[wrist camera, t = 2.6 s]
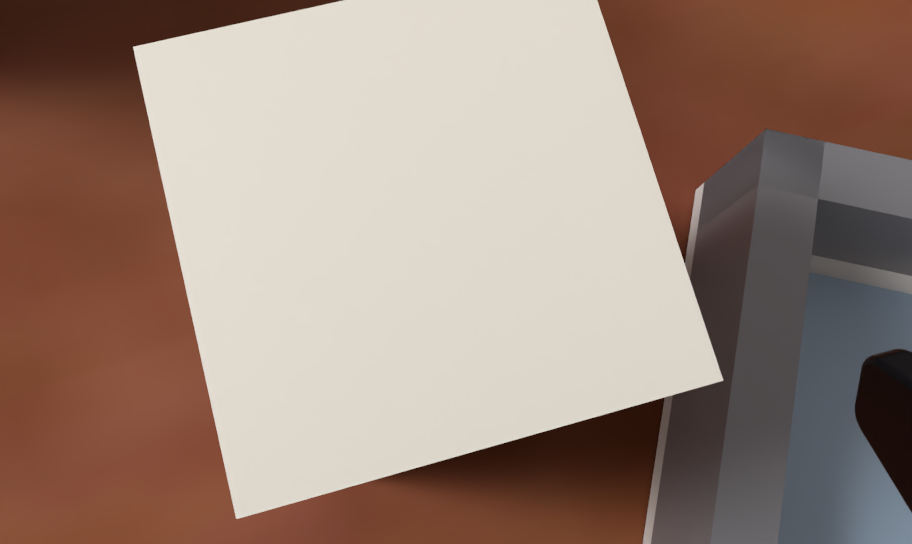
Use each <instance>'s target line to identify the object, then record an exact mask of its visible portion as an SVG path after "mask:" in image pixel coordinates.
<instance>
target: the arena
mask: <svg viewBox="0 0 912 544" xmlns="http://www.w3.org/2000/svg"><path fill="white" fill-rule="evenodd" d="M685 266H686V269H687V272H688V275H689V278H690V281H691V284H692V287H693V291H694V294H695V297H696V300H697V303H698V306H699V309H700V312H701V315H702V318H703V321H704V324H705V327H706V330H707V333H708V336H709V339H710V342H711V345H712V348H713V351H714V354H715V357H716V360H717V363H718V366H719V369H720V372H721V375H722V378H723V381H721V382H717V383H714V384H710V385H707V386H703V387H699V388H696V389H692V390H689V391H685V392H682V393H678V394H675V395H671V396H668V397H665V398H664V405H663V412H662V418H661V425H660V431H659V438H658V445H657V451H656V458H655V465H654V471H653V478H652V485H651V491H650V498H649V505H648V511H647V518H646V524H645V531H644V538H643V544H912V513H911V511H910V510H909V508H908V506H907V505H906V503H905V501H904V500H903V498H902V496H901V495H900V493H899V492H898V490H897V488H896V487H895V485H894V483H893V482H892V480H891V478H890V477H889V475H888V474H887V472H886V470H885V469H884V467H883V465H882V464H881V462H880V460H879V459H878V457H877V455H876V454H875V452H874V451H873V449H872V447H871V446H870V444H869V442H868V441H867V439H866V437H865V436H864V434H863V433H862V431H861V429H860V427H859V425H858V423H857V420H856V416H855V401H856V395H857V390H858V384H859V379H860V373H861V368H862V364H863V362H864V361H865V360H866V358H868V357H869V356H872V355H875V354H879V353H882V352H886V351H889V350H893V349H905V350H908V351H911V352H912V160H907V159H903V158H898V157H893V156H889V155H884V154H880V153H875V152H870V151H866V150H861V149H856V148H852V147H847V146H842V145H838V144H833V143H829V142H824V141H819V140H815V139H810V138H805V137H801V136H796V135H791V134H787V133H782V132H778V131H773V130H768V129H765V130H764V131H763V132H762V133H761V134H760V135H758V136H757V137H756V138H755V139H754V140H753V141H752V142H750V143H749V144H748V145H747V146H746V147H745V148H744V149H742V150H741V151H740V152H739V153H738V154H737V155H735V156H734V157H733V158H732V159H731V160H730V161H729V162H727V163H726V164H725V165H724V166H723V167H722V168H721V169H719V170H718V171H717V172H716V173H715V174H714V175H712V176H711V177H710V178H709V179H708V180H707V181H706V182H704V183H703V184H702V185H701V186H700V187H699V188H698V189H696V192H695V199H694V206H693V212H692V219H691V225H690V232H689V239H688V245H687V252H686V259H685Z"/></svg>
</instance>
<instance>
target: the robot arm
mask: <svg viewBox="0 0 912 544" xmlns="http://www.w3.org/2000/svg"><path fill="white" fill-rule="evenodd" d="M855 416H856V420H857V423H858V425H859V427H860V429H861V431H862V433H863V434H864V436H865V437H866V439H867V441H868V442H869V444H870V446H871V447H872V449H873V451H874V452H875V454H876V455H877V457H878V459H879V460H880V462H881V464H882V465H883V467H884V469H885V470H886V472H887V474H888V475H889V477H890V478H891V480H892V482H893V483H894V485H895V487H896V488H897V490H898V492H899V493H900V495H901V496H902V498H903V500H904V501H905V503H906V505H907V506H908V508H909V510H910V511H911V513H912V352H911V351H908V350H905V349H893V350H889V351H886V352H882V353H879V354H875V355H872V356H869V357H868V358H866V360H865V361H864V362H863V364H862V368H861V373H860V379H859V384H858V390H857V395H856V401H855Z"/></svg>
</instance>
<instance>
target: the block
mask: <svg viewBox="0 0 912 544" xmlns="http://www.w3.org/2000/svg"><path fill="white" fill-rule="evenodd" d="M133 50H134V54H135V59H136V63H137V68H138V73H139V77H140V82H141V86H142V91H143V95H144V100H145V105H146V109H147V114H148V118H149V123H150V127H151V132H152V137H153V141H154V146H155V150H156V155H157V159H158V164H159V168H160V173H161V178H162V182H163V187H164V191H165V196H166V200H167V205H168V210H169V214H170V219H171V223H172V228H173V232H174V237H175V241H176V246H177V251H178V255H179V260H180V264H181V269H182V273H183V278H184V283H185V287H186V292H187V296H188V301H189V305H190V310H191V315H192V319H193V324H194V328H195V333H196V337H197V342H198V346H199V351H200V356H201V360H202V365H203V369H204V374H205V378H206V383H207V388H208V392H209V397H210V401H211V406H212V410H213V415H214V419H215V424H216V429H217V433H218V438H219V442H220V447H221V451H222V456H223V461H224V465H225V470H226V474H227V479H228V483H229V488H230V492H231V497H232V502H233V506H234V511H235V515H236V519H239V518H242V517H246V516H249V515H253V514H256V513H260V512H263V511H267V510H270V509H274V508H277V507H281V506H284V505H288V504H291V503H295V502H298V501H302V500H305V499H309V498H312V497H316V496H319V495H323V494H327V493H330V492H334V491H337V490H341V489H344V488H348V487H351V486H355V485H358V484H362V483H365V482H369V481H372V480H376V479H379V478H383V477H386V476H390V475H393V474H397V473H400V472H404V471H407V470H411V469H414V468H418V467H422V466H425V465H429V464H432V463H436V462H439V461H443V460H446V459H450V458H453V457H457V456H460V455H464V454H467V453H471V452H474V451H478V450H481V449H485V448H488V447H492V446H495V445H499V444H502V443H506V442H509V441H513V440H517V439H520V438H524V437H527V436H531V435H534V434H538V433H541V432H545V431H548V430H552V429H555V428H559V427H562V426H566V425H569V424H573V423H576V422H580V421H583V420H587V419H590V418H594V417H597V416H601V415H604V414H608V413H612V412H615V411H619V410H622V409H626V408H629V407H633V406H636V405H640V404H643V403H647V402H650V401H654V400H657V399H661V398H664V397H668V396H671V395H675V394H678V393H682V392H685V391H689V390H692V389H696V388H699V387H703V386H707V385H710V384H714V383H717V382H721V381H723V378H722V375H721V372H720V369H719V366H718V363H717V360H716V357H715V354H714V351H713V348H712V345H711V342H710V339H709V336H708V333H707V330H706V327H705V324H704V321H703V318H702V315H701V312H700V309H699V306H698V303H697V300H696V297H695V294H694V291H693V287H692V284H691V281H690V278H689V275H688V272H687V269H686V266H685V263H684V260H683V257H682V254H681V251H680V248H679V245H678V242H677V239H676V236H675V233H674V230H673V227H672V224H671V221H670V218H669V215H668V212H667V209H666V206H665V203H664V200H663V197H662V194H661V191H660V188H659V185H658V182H657V179H656V176H655V173H654V170H653V167H652V164H651V161H650V158H649V155H648V152H647V149H646V146H645V143H644V140H643V137H642V134H641V131H640V128H639V125H638V122H637V119H636V116H635V113H634V110H633V107H632V104H631V101H630V98H629V95H628V92H627V89H626V86H625V83H624V80H623V77H622V74H621V71H620V68H619V65H618V62H617V59H616V56H615V53H614V49H613V46H612V43H611V40H610V37H609V34H608V31H607V28H606V25H605V22H604V19H603V16H602V13H601V10H600V7H599V4H598V1H597V0H343V1H338V2H334V3H329V4H325V5H320V6H316V7H311V8H307V9H302V10H298V11H293V12H288V13H284V14H279V15H275V16H270V17H266V18H261V19H257V20H252V21H248V22H243V23H239V24H234V25H230V26H225V27H220V28H216V29H211V30H207V31H202V32H198V33H193V34H189V35H184V36H180V37H175V38H171V39H166V40H162V41H157V42H152V43H148V44H143V45H139V46H134V47H133Z"/></svg>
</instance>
